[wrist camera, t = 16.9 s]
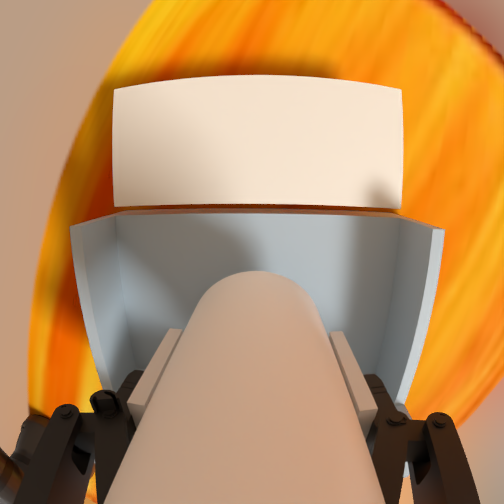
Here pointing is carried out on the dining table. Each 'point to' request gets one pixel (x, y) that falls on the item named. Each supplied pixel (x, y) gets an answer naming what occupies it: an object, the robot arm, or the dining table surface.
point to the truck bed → (258, 259)
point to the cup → (250, 409)
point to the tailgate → (258, 142)
